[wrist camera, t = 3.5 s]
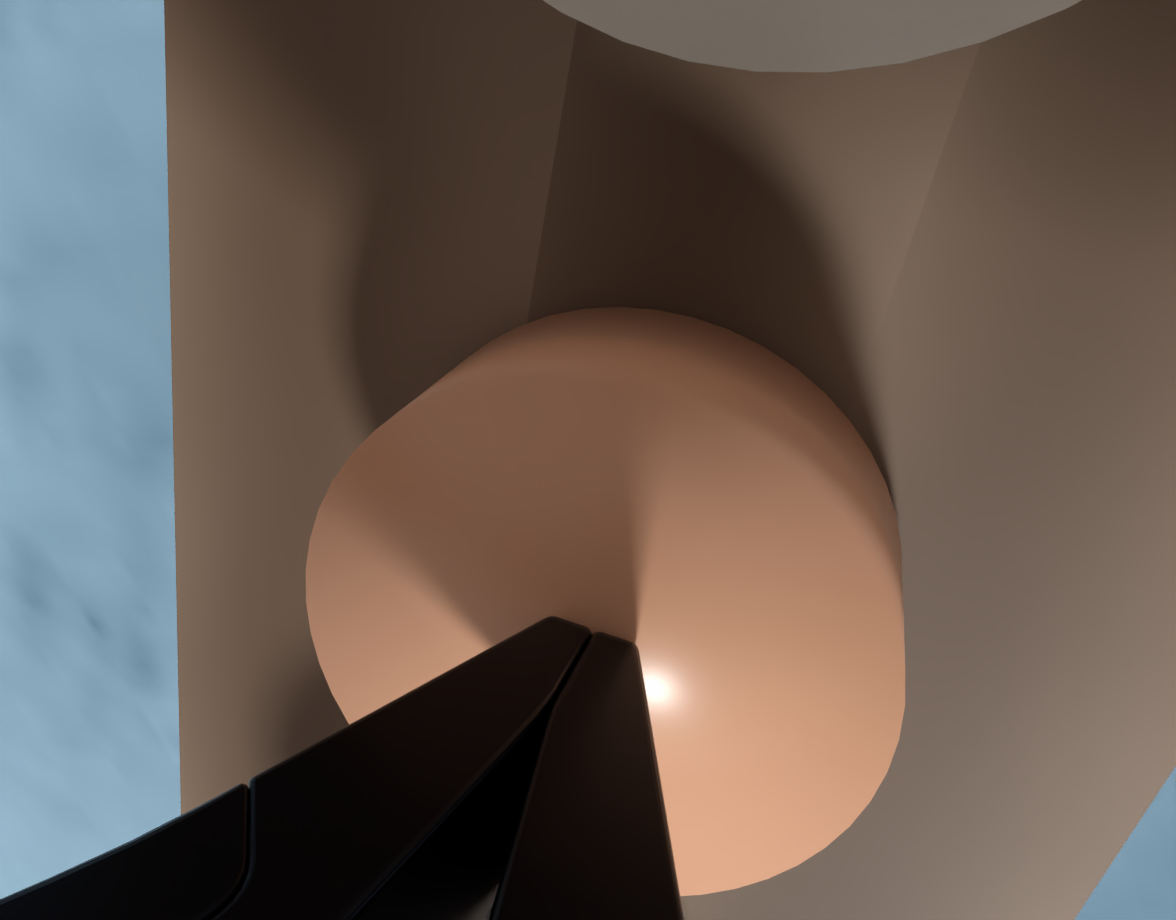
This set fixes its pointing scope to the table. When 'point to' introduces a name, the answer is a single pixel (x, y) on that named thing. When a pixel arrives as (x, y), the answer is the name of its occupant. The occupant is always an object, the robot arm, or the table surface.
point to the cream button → (805, 29)
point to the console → (745, 306)
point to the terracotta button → (640, 564)
